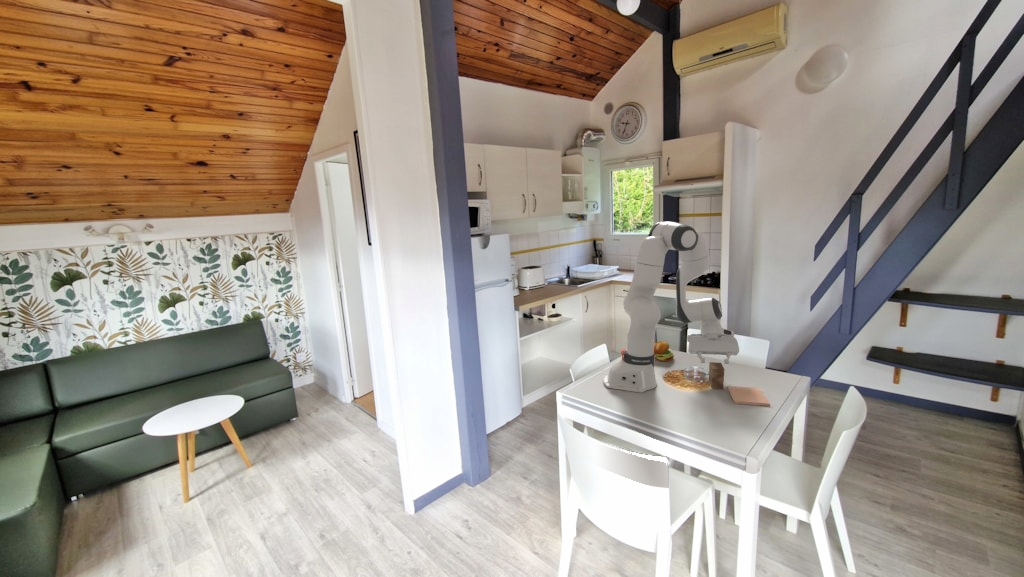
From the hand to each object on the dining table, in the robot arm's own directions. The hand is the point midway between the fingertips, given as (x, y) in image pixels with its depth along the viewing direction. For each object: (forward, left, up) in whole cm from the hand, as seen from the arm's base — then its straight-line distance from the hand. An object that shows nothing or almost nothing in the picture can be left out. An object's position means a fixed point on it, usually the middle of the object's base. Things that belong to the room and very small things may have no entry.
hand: (714, 363), depth 186 cm
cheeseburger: (-20, +23, -8) cm, 32 cm away
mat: (+10, -14, -8) cm, 19 cm away
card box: (0, -5, -8) cm, 9 cm away
